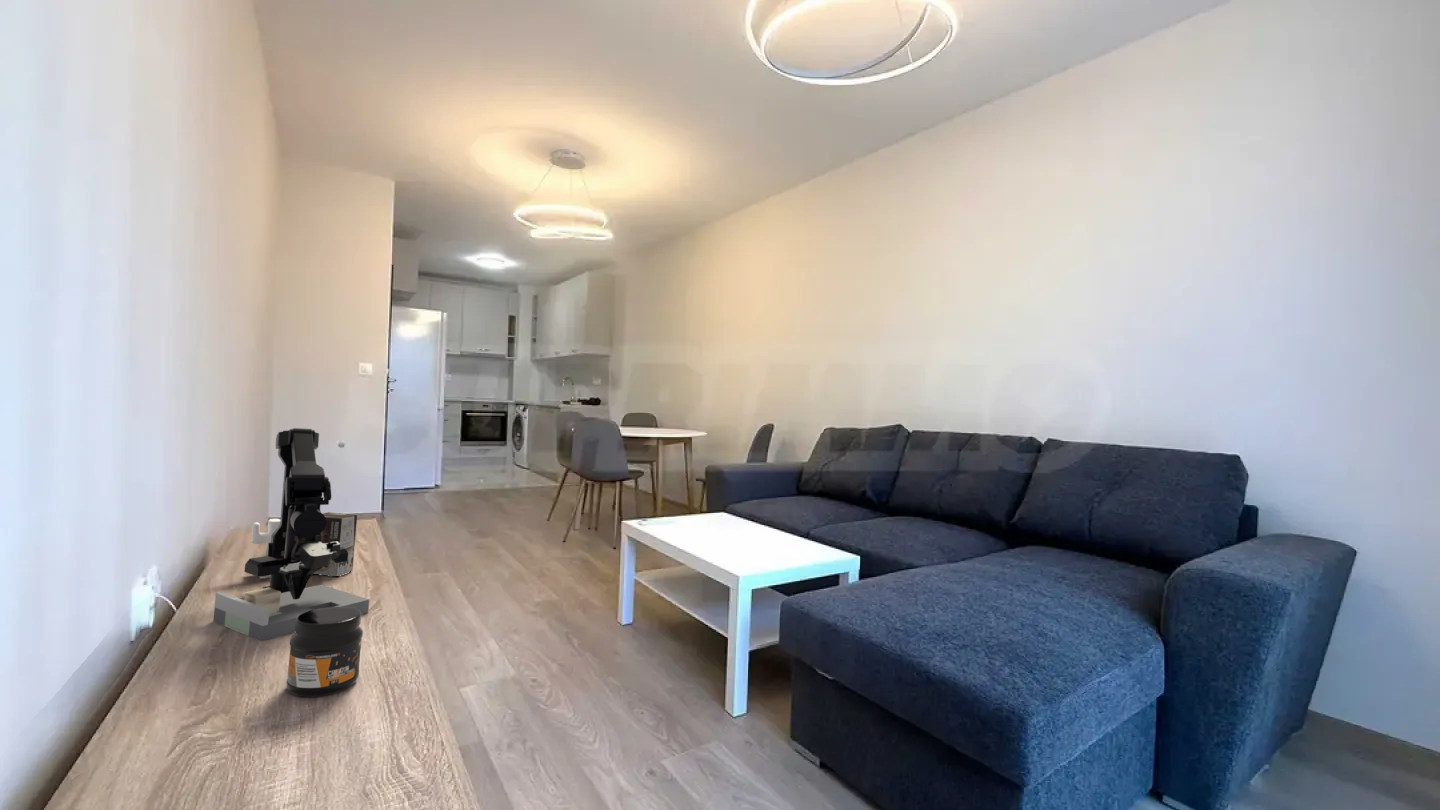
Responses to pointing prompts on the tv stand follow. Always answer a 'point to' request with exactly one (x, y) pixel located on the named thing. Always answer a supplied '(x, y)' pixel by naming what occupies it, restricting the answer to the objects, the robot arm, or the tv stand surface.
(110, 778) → the tv stand surface
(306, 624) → the supplement container
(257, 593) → the maple block
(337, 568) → the coffee box
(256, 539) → the figurine
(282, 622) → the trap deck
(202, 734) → the tv stand surface
